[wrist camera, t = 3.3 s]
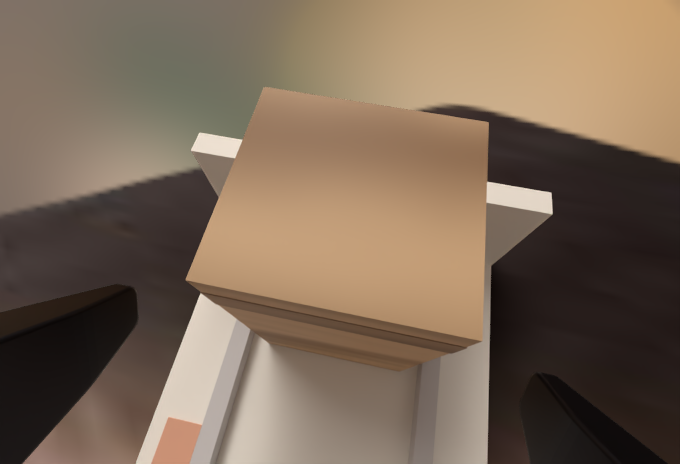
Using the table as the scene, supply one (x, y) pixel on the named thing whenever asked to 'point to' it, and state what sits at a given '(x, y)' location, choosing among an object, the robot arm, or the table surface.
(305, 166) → the tan wooden block
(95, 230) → the table surface
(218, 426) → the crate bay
